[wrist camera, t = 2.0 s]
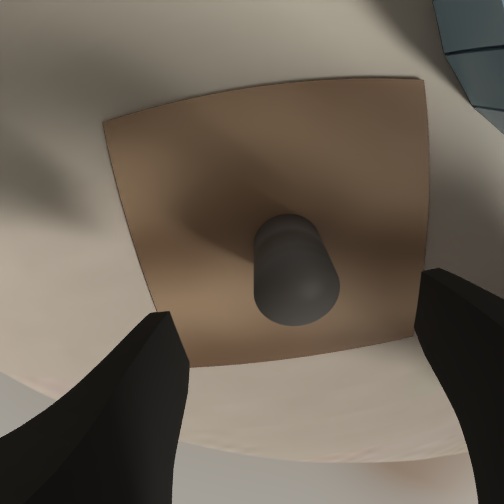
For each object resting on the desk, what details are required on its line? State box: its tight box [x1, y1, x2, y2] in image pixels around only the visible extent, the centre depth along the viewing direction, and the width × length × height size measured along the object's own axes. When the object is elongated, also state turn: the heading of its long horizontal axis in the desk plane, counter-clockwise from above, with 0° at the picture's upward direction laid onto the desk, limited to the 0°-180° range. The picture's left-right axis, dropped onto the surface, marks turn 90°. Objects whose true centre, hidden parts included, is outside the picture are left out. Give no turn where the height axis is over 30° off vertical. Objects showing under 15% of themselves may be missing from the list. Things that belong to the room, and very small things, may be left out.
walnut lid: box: [103, 78, 429, 368], centre depth 12 cm, size 13×13×4 cm
